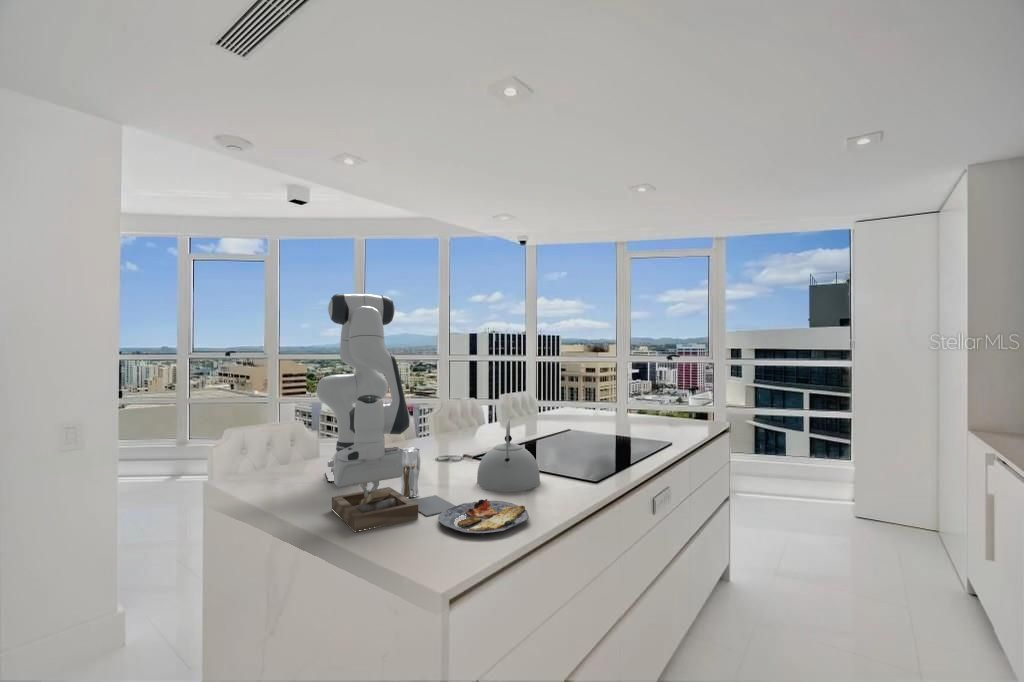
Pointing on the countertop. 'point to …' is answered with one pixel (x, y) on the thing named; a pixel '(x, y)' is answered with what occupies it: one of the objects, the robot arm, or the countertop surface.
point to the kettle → (508, 467)
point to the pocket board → (377, 515)
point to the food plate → (484, 516)
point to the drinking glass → (410, 472)
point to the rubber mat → (432, 505)
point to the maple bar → (375, 496)
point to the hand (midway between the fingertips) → (369, 496)
